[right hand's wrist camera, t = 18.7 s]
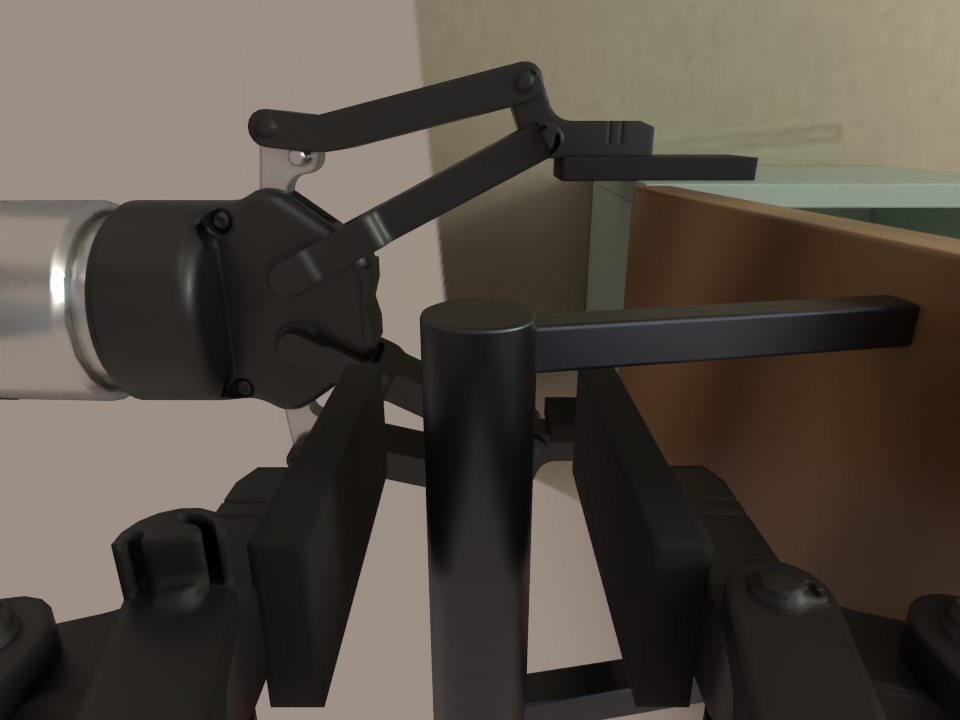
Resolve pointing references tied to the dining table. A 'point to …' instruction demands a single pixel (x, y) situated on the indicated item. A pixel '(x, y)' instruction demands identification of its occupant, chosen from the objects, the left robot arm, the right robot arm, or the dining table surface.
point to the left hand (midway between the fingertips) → (722, 301)
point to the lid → (705, 423)
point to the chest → (820, 189)
